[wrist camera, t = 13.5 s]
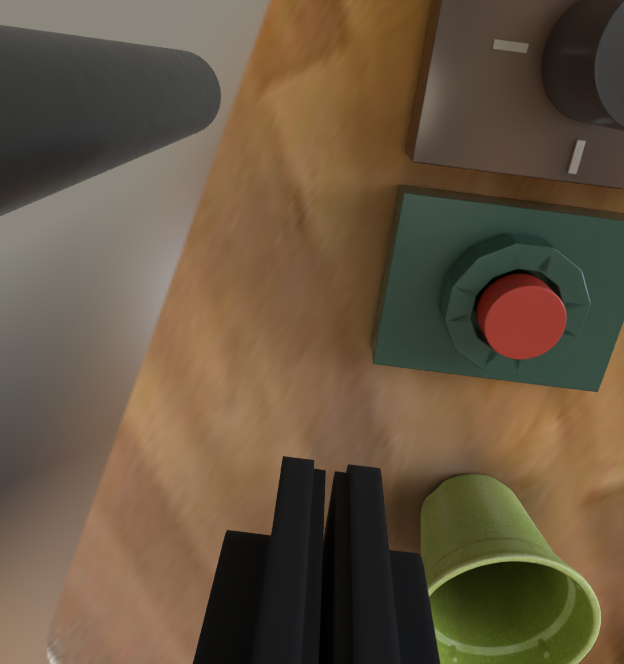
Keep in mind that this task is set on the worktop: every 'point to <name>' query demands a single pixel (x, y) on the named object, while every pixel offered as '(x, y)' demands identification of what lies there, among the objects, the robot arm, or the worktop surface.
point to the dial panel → (502, 98)
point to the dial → (588, 63)
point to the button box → (485, 268)
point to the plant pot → (500, 581)
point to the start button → (521, 316)
